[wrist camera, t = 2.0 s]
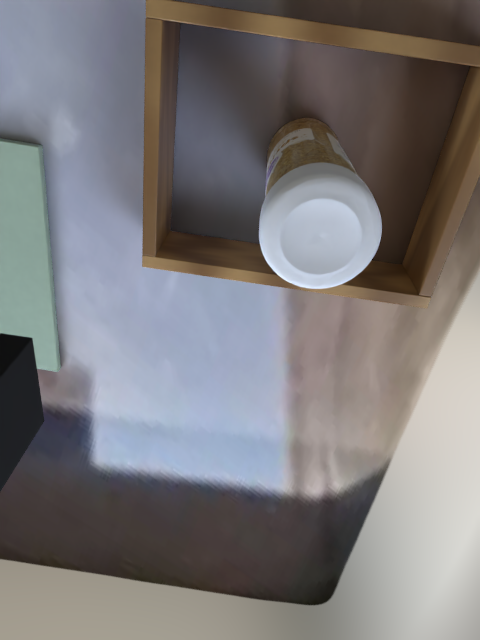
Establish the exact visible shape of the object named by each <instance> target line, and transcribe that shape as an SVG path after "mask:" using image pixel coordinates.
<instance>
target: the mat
mask: <svg viewBox="0 0 480 640" xmlns="http://www.w3.org/2000/svg"><path fill="white" fill-rule="evenodd" d="M1 333H3V334H10V335H17V336H23V337H30V338H33V345H34V352H35V359H36V366H37V369H43V370H49V371H56V372H58V371H59V370H60V368H61V365H60V353H59V341H58V329H57V317H56V305H55V293H54V281H53V268H52V256H51V244H50V232H49V220H48V208H47V196H46V184H45V172H44V159H43V147H42V145H38V144H32V143H26V142H20V141H14V140H8V139H2V138H0V334H1Z"/></svg>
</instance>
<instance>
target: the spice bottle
mask: <svg viewBox="0 0 480 640" xmlns="http://www.w3.org/2000/svg"><path fill="white" fill-rule="evenodd" d="M265 195H266V198H265V200H264V202H263V205H262V209H261V214H260V221H259V241H260V246H261V250H262V253H263V255H264V258H265V260H266V261H267V263H268V265H269V266H270V267H271V268H272V270H273V271H274V272H275V273H276V274H277V275H279V276H280V277H281V278H283V279H284V280H286V281H287V282H289V283H292V284H294V285H296V286H299V287H304V288H310V289H324V288H331V287H334V286H338V285H341V284H343V283H345V282H347V281H349V280H351V279H352V278H354V277H355V276H357V275H358V274H359V273H361V272H362V271H363V270H364V269H365V268H366V267H367V265H368V264H369V263H370V262H371V260H372V258H373V257H374V255H375V254H376V251H377V249H378V247H379V243H380V240H381V233H382V220H381V215H380V211H379V208H378V206H377V203H376V201H375V199H374V197H373V195H372V193H371V191H370V190H369V188H368V186H367V185H366V184H365V183H364V181H363V180H362V179H361V178H360V177H359V176H358V175H357V174H356V171H355V169H354V167H353V165H352V163H351V162H350V160H349V158H348V157H347V155H346V153H345V152H344V150H343V148H342V147H341V145H340V143H339V142H338V139H337V137H336V135H335V133H334V132H333V131H332V130H331V129H330V128H329V127H328V125H326V124H324V123H322V122H321V121H319V120H316V119H313V118H301V119H297V120H294V121H291V122H289V123H287V124H285V125H284V126H283V127H282V128H281V129H279V130H278V131H277V133H276V134H275V135H274V137H273V139H272V140H271V142H270V144H269V148H268V151H267V174H266V189H265Z"/></svg>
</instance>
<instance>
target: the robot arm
mask: <svg viewBox="0 0 480 640" xmlns="http://www.w3.org/2000/svg"><path fill="white" fill-rule="evenodd" d="M43 422H44V416H43V409H42V402H41V395H40V388H39V381H38V373H37V366H36V359H35V352H34V345H33V338H30V337H23V336H17V335H10V334H3V333H1V334H0V491H1V490H2V488H3V487H4V485H5V483H6V482H7V480H8V478H9V477H10V475H11V474H12V472H13V470H14V469H15V467H16V466H17V464H18V462H19V461H20V459H21V457H22V456H23V454H24V453H25V451H26V449H27V448H28V446H29V445H30V443H31V441H32V440H33V438H34V437H35V435H36V433H37V432H38V430H39V428H40V427H41V425H42V424H43Z"/></svg>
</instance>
